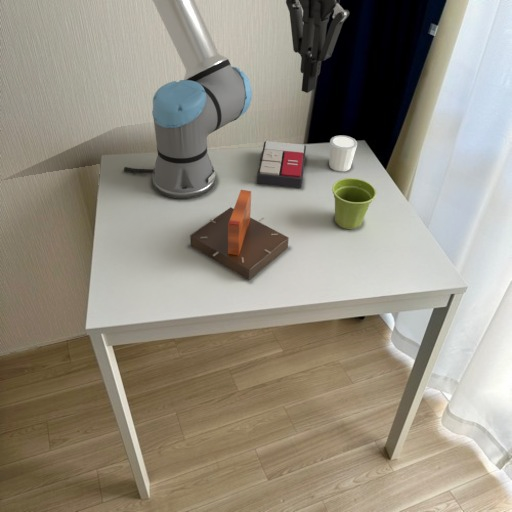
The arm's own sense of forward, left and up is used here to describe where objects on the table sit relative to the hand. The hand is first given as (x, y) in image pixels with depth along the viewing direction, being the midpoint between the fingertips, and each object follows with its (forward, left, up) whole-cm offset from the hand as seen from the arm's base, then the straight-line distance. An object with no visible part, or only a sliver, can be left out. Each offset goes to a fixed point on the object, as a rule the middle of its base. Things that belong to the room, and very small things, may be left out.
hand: (308, 89), depth 108 cm
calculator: (-9, +6, -27) cm, 29 cm away
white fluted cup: (+1, +18, -27) cm, 32 cm away
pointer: (+2, -24, -23) cm, 34 cm away
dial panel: (+2, -24, -26) cm, 36 cm away
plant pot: (+15, -1, -27) cm, 31 cm away
